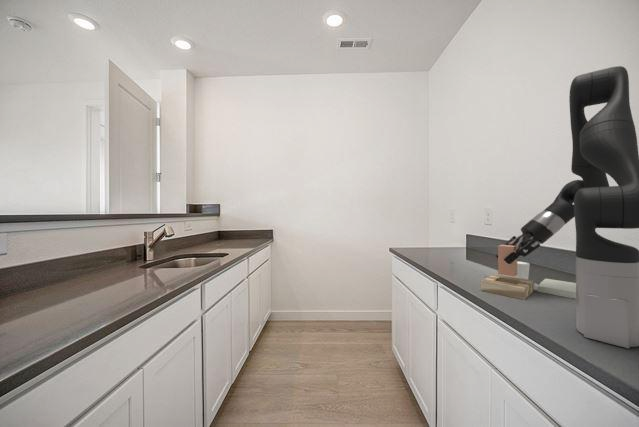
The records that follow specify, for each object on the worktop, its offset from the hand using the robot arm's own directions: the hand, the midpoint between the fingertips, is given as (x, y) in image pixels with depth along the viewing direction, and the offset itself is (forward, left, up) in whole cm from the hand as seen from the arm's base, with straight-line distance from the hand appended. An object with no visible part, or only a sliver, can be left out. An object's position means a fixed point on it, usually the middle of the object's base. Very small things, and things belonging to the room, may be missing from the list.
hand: (502, 260), depth 86 cm
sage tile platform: (+14, -15, -11) cm, 23 cm away
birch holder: (+1, -1, -11) cm, 11 cm away
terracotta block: (+1, -1, -5) cm, 5 cm away
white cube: (+21, 0, -11) cm, 24 cm away
